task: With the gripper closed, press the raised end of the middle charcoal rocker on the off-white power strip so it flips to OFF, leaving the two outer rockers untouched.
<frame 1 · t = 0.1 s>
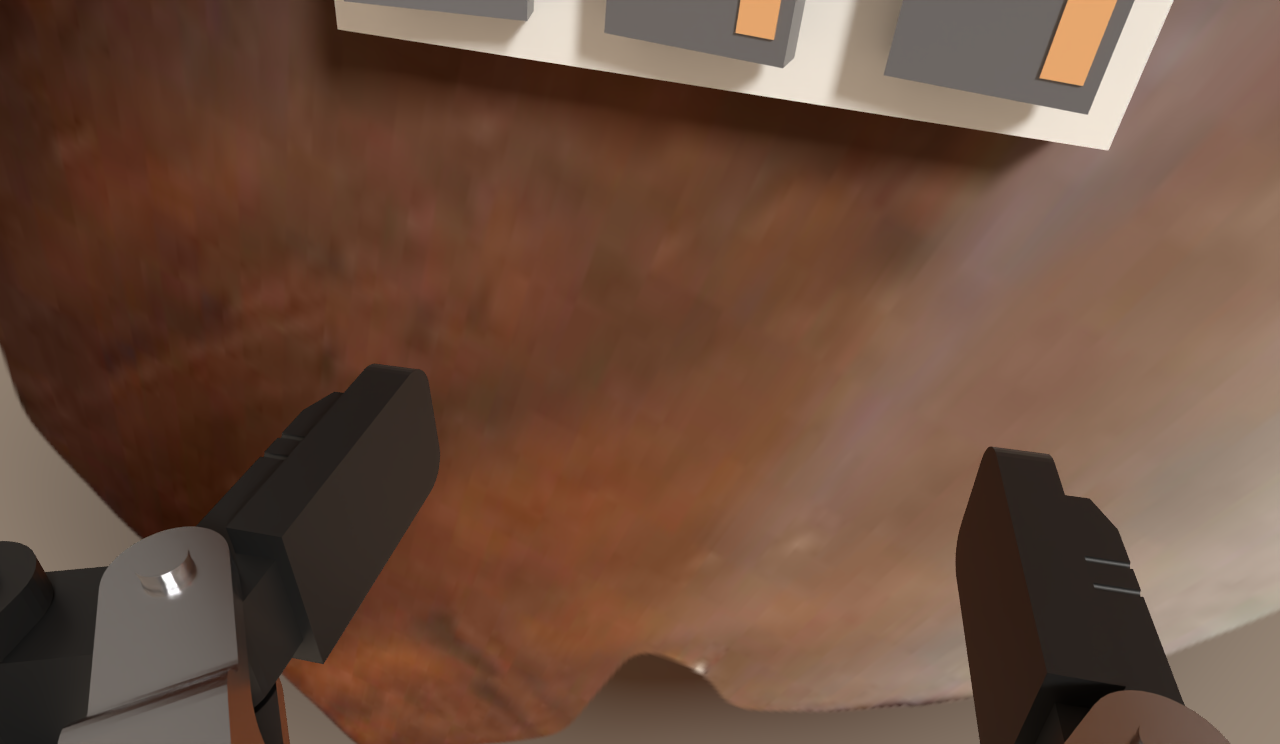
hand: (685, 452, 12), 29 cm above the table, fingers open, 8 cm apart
rocker 3: (1007, 15, 28), point 6 cm above the table, hinge at 10.0°
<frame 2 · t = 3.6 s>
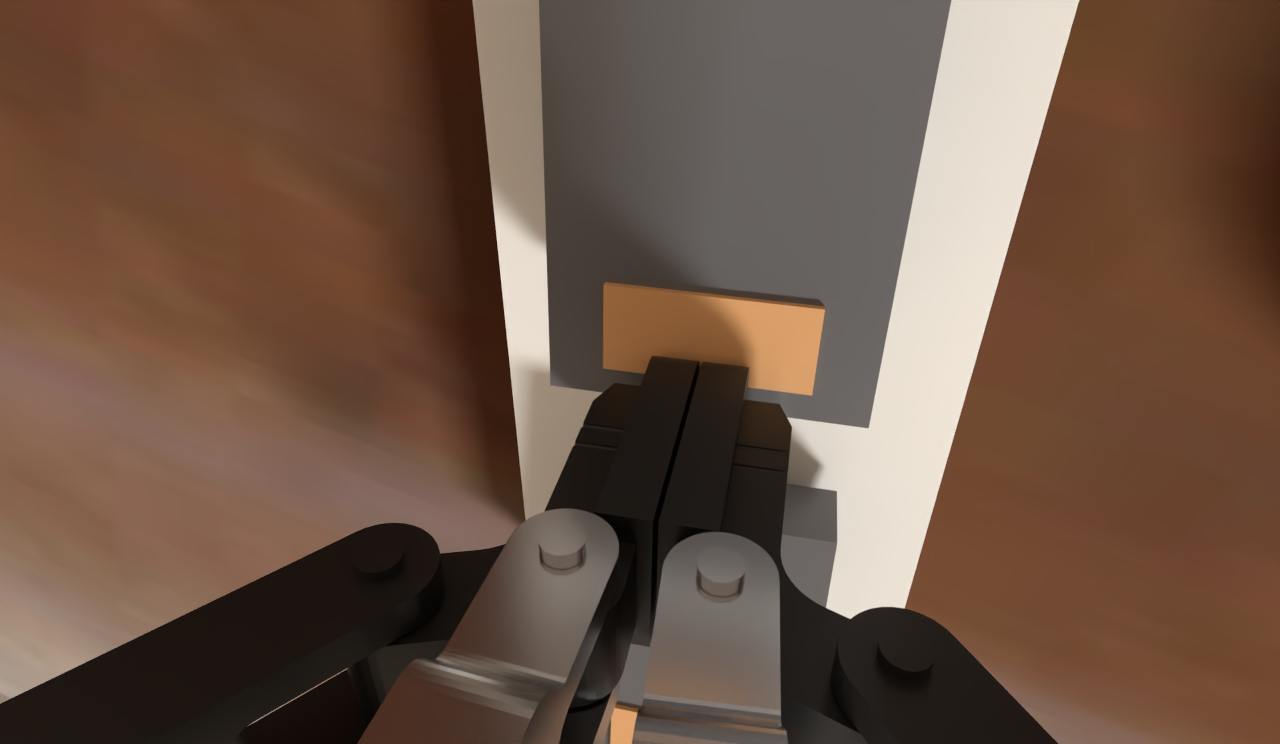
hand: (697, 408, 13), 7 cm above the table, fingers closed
rocker 3: (696, 633, 18), point 6 cm above the table, hinge at 10.0°
power strip: (765, 68, 17), on the table
rocker 2: (728, 168, 12), point 6 cm above the table, hinge at 5.6°, touching gripper
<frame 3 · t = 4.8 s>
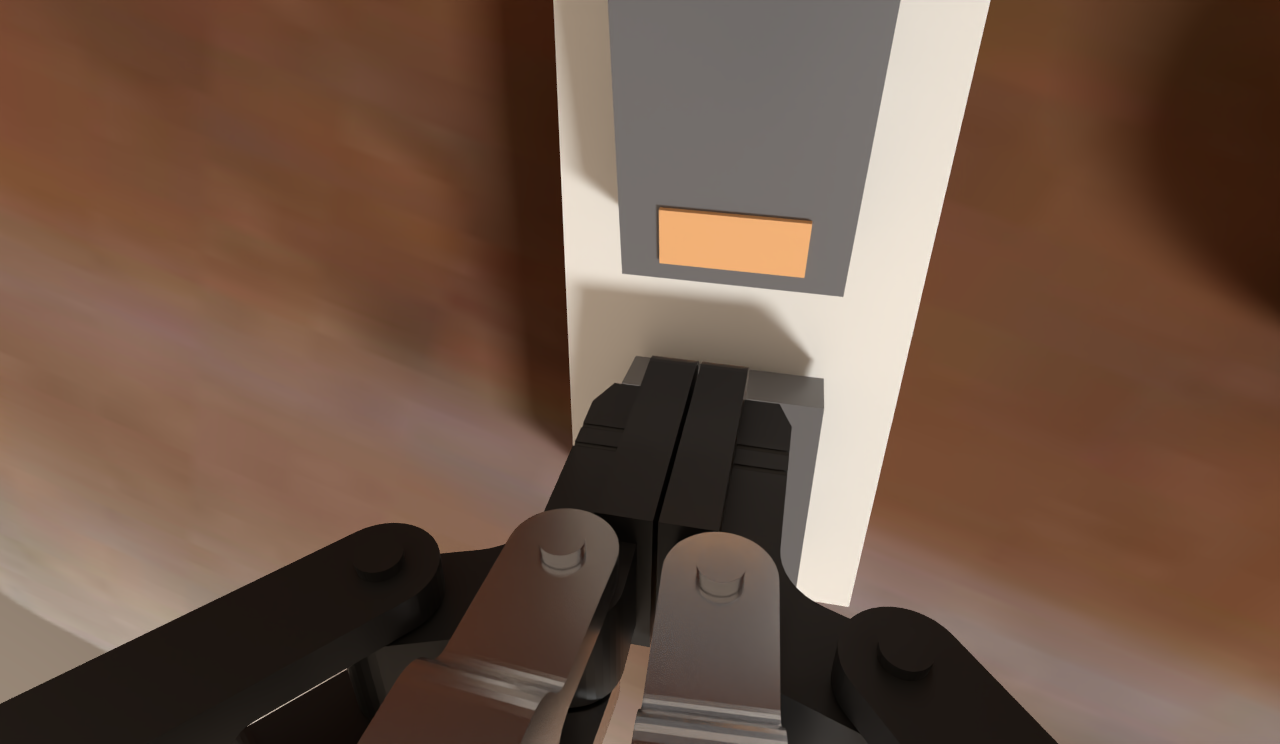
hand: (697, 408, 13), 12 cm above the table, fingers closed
rocker 3: (713, 497, 22), point 6 cm above the table, hinge at 10.0°
power strip: (766, 48, 21), on the table
rocker 2: (744, 123, 17), point 6 cm above the table, hinge at -11.0°
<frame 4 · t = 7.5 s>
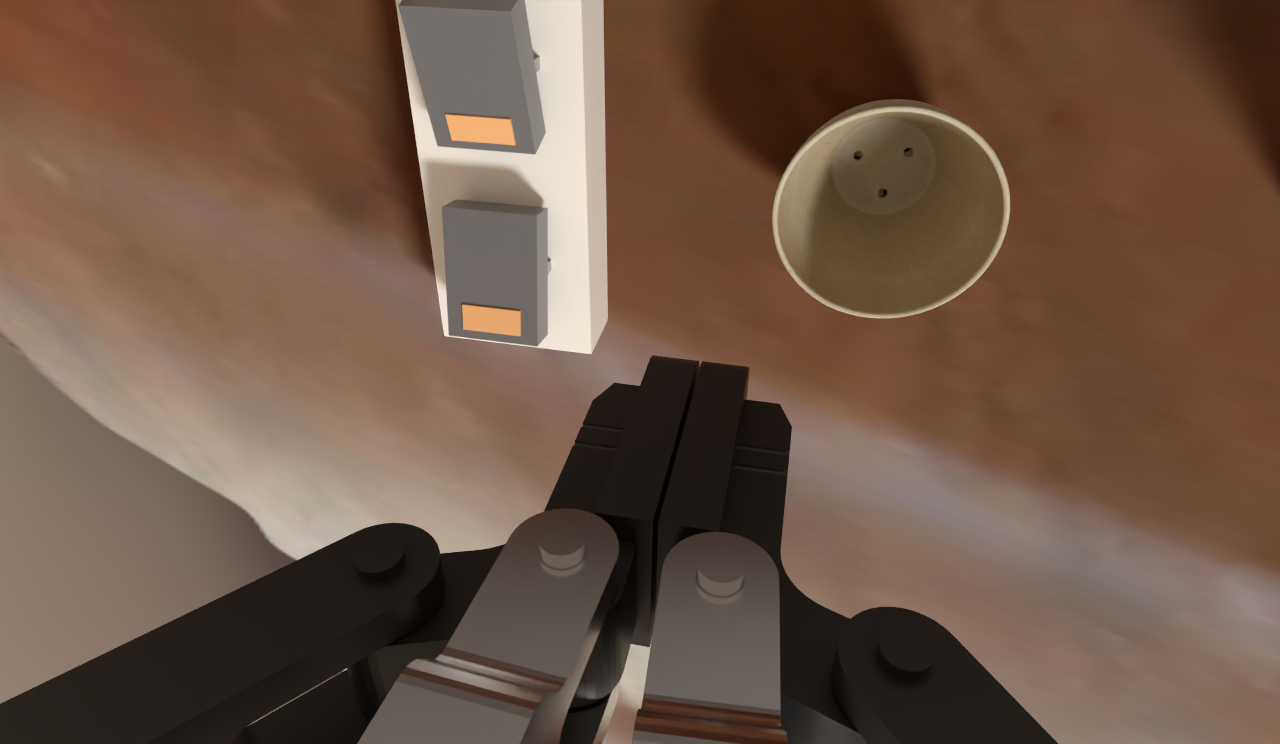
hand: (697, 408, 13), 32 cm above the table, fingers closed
flower pot: (881, 163, 42), on the table
rocker 3: (496, 273, 43), point 6 cm above the table, hinge at 10.0°
power strip: (519, 41, 42), on the table
rocker 2: (477, 74, 37), point 6 cm above the table, hinge at -16.4°
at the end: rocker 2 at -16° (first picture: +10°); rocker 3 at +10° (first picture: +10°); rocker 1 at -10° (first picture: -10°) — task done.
